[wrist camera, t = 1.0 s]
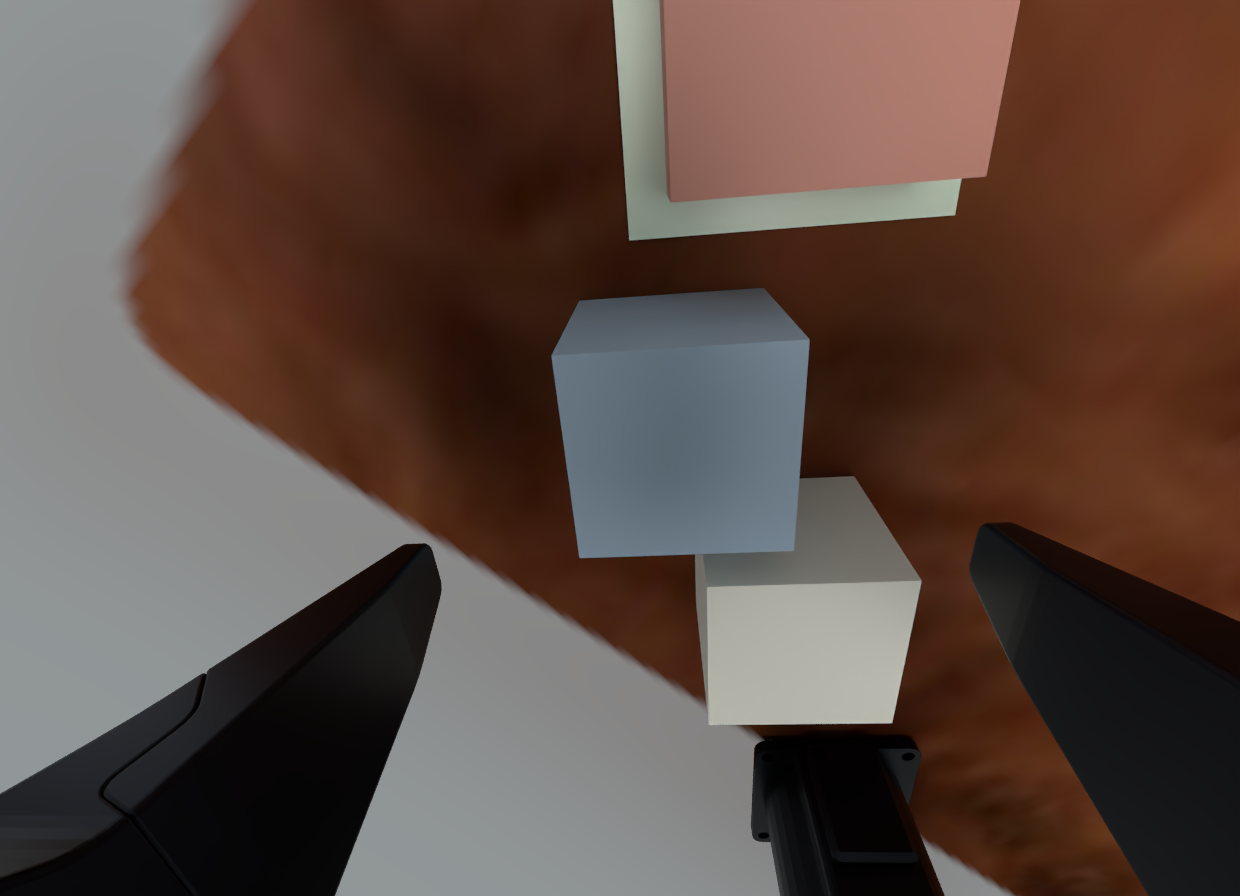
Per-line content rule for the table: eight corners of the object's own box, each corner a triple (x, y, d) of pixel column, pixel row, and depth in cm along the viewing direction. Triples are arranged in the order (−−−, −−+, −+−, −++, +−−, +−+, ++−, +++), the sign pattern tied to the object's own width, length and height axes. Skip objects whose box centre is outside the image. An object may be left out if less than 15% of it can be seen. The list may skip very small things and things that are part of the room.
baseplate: (949, 214, 14) (954, 215, 14) (629, 239, 15) (629, 240, 14) (1028, -251, 10) (1038, -261, 10) (600, -191, 11) (599, -201, 11)
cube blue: (757, 451, 17) (793, 550, 13) (597, 459, 18) (579, 558, 13) (762, 287, 15) (809, 339, 11) (579, 299, 16) (551, 355, 11)
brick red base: (919, 173, 13) (986, 176, 11) (667, 194, 14) (670, 202, 11) (969, -177, 11) (1076, -291, 8) (654, -136, 11) (655, -229, 8)
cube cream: (838, 597, 20) (892, 723, 15) (695, 601, 20) (708, 725, 16) (853, 474, 18) (921, 580, 13) (692, 481, 18) (707, 587, 14)
